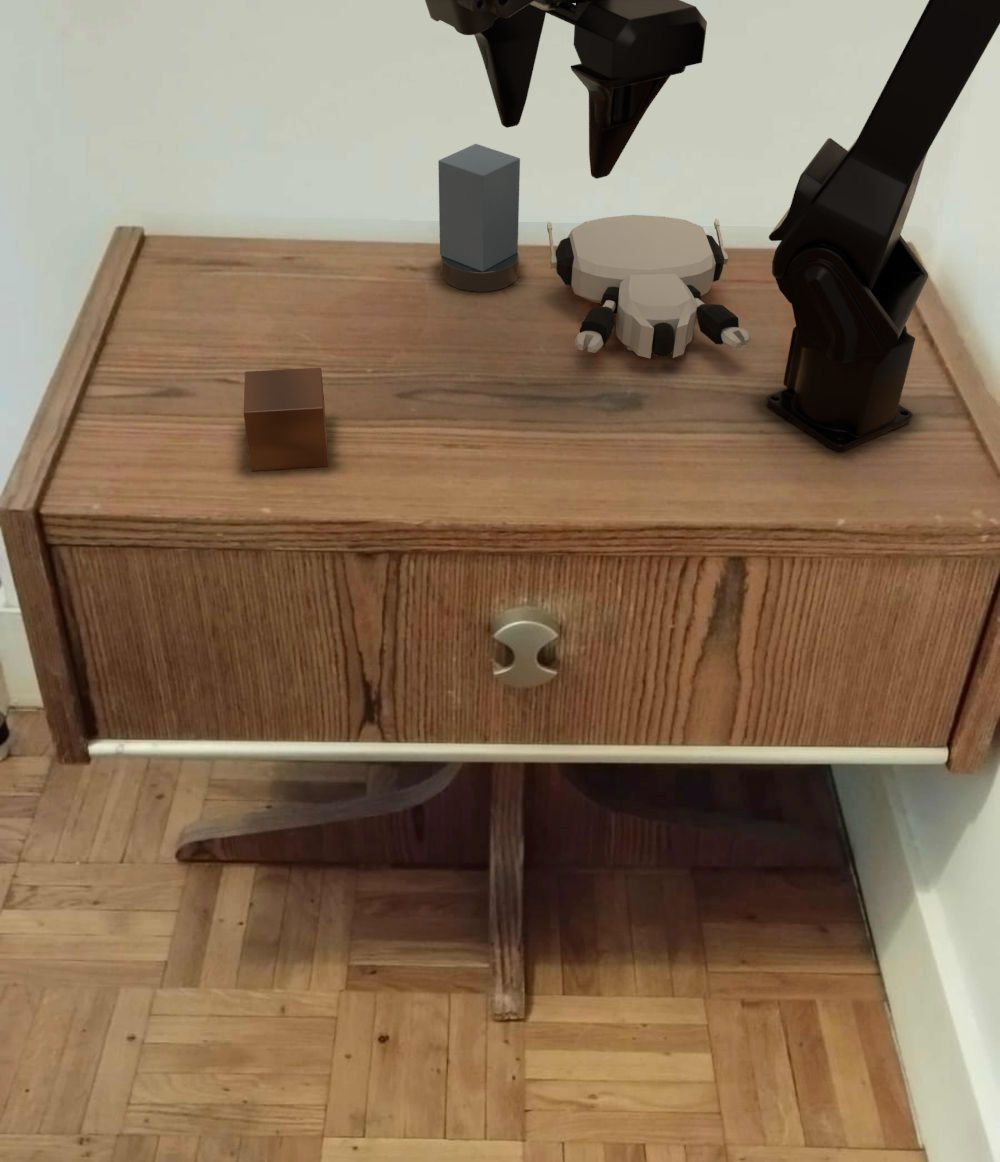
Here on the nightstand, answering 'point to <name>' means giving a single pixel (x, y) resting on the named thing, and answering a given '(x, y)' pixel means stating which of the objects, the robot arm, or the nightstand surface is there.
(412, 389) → the nightstand surface
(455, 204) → the top block
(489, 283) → the disc
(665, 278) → the robot toy
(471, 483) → the nightstand surface
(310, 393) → the base block
